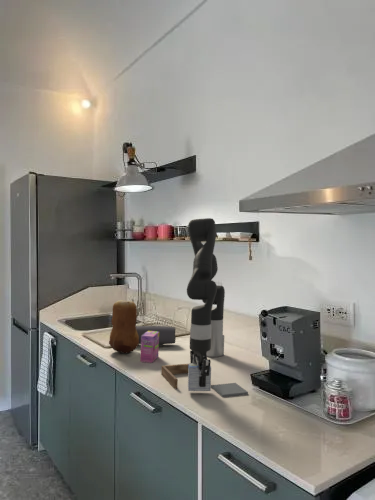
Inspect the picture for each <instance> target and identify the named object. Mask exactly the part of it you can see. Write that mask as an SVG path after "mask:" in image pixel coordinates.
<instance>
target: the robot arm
mask: <svg viewBox="0 0 375 500" xmlns="http://www.w3.org/2000/svg"><path fill="white" fill-rule="evenodd" d="M187 225H188V226H187V228H188V229H187V230H188V235H189V239H190V242H191V246H192V249H193V254H194V258H193V264H192V265H193V266H192V274H191V277H190V279H189V280H188V283H187V288H186V295H187V296H188V298H189V299H190V300H194V301H202V302H203V304H202V305H197V306H193V307H191V314H190V315H191V317H190V318H191V319H190V329H189V354H190V356H189V357H190V359H189V360H190V363H193V364H195V363H196V364H197V369H198V370H199V386H200V387H205V386H206V376H209V372H210V366H211V363H212V361H211V359H208V357H209V358H216V357H217V358H219V357H222V356H225V335H224V334H223V333H224V311H225V309H224V308H225V295H226V292H225V287H224V286H223V285H217V283H216V282H215V281H214V280H213V279H214V278H215V277H216V275H217V274H218V270H219V269H218V260H217V257H216V255H215V254H214V250H215V245H216V239H217V238H216V237H217V227H216V222H215V220H214V219H213V218H211V217H210V218H209V217H208V218H194V219H192V220H190V221H189V222H188V224H187ZM203 242H204V244H203ZM215 305H216V307H215V308H214V309H213V306H215ZM200 366H202V367H200ZM201 369H202V372H201Z"/></svg>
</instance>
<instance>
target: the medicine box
mask: <svg viewBox="0 0 375 500" xmlns="http://www.w3.org/2000/svg"><path fill="white" fill-rule="evenodd" d="M188 364H189V365H188V373H187V374H188V375H187V380H188V381H187V390H188V392H211V391H212V390H211V389H212V388H211V385H212V383H211V382H212V380H211V379H212V366H211V365H210V372H209V376H206V386H205V387H200V386H199V370H198V369H197V364H196V363H195V364H193V363H191V362H190V363H188ZM200 367H202V366H200ZM201 372H202V369H201Z"/></svg>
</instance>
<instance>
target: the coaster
mask: <svg viewBox="0 0 375 500" xmlns="http://www.w3.org/2000/svg"><path fill="white" fill-rule="evenodd" d="M211 389H212V390H214V392H216V393H218V395H219V396H221V397H222V398H225V397H228V398H229V397H235V396H236V397H237V396H243V395H244V396H245V395H249V391H248V390H246V389H244V388H243V387H242V386H240V385H239V384H238V383H236V382H232V383H221V384H219V383H218V384H211Z"/></svg>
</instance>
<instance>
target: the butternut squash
mask: <svg viewBox="0 0 375 500" xmlns="http://www.w3.org/2000/svg"><path fill="white" fill-rule="evenodd" d="M137 310H138V309H137V305H136V303H135V302H134V301H133V300H124V299H119V300H117V301H115V302H114V303H113V304H112V316H111V317H112V318H111V321H110V322H111V325H112V328H111V331H110V334H109V340H108V344H109V345H110V347H111V348H112V349H113V351H115V352H118V353H122V354H130V353H131V352H134V351H135V350H136V349H137V348H138V347H139V345H140V344H139V336H138V333H137V330H136V326H137V319H138V312H137Z"/></svg>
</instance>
